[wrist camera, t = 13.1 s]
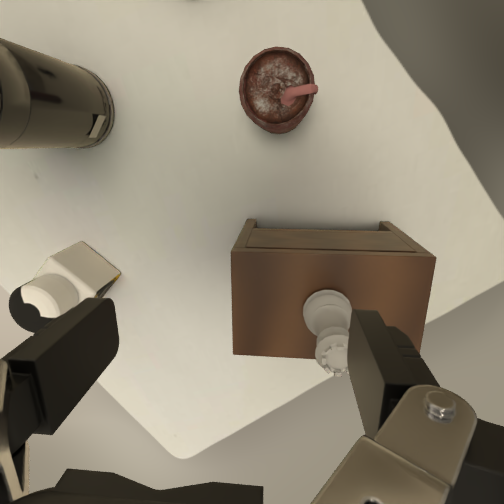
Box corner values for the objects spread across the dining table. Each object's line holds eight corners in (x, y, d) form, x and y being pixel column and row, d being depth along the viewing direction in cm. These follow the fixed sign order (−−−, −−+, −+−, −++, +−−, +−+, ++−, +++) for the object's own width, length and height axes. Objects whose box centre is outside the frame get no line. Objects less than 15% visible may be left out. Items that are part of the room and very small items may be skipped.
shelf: (247, 295, 47) (232, 354, 34) (247, 218, 44) (230, 251, 31) (379, 300, 46) (417, 365, 32) (389, 221, 42) (436, 257, 29)
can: (310, 128, 40) (323, 121, 27) (258, 138, 41) (244, 135, 27) (304, 72, 38) (314, 34, 25) (249, 83, 39) (231, 52, 26)
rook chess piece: (343, 334, 32) (361, 393, 25) (297, 324, 32) (301, 380, 25) (357, 293, 31) (380, 342, 23) (308, 282, 31) (316, 328, 23)
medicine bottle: (96, 305, 50) (41, 352, 39) (56, 274, 49) (-12, 313, 38) (122, 272, 48) (72, 312, 37) (81, 239, 47) (17, 270, 36)
